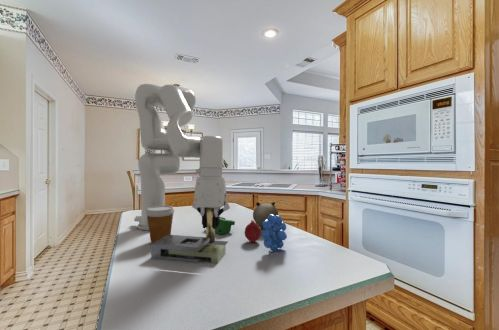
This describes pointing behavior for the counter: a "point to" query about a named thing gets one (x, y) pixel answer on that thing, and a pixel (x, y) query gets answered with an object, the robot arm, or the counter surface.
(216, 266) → the counter surface
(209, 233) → the pin
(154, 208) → the disposable coffee cup
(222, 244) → the mat
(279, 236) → the grapes
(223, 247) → the clevis
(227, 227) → the green angular piece
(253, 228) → the onion
